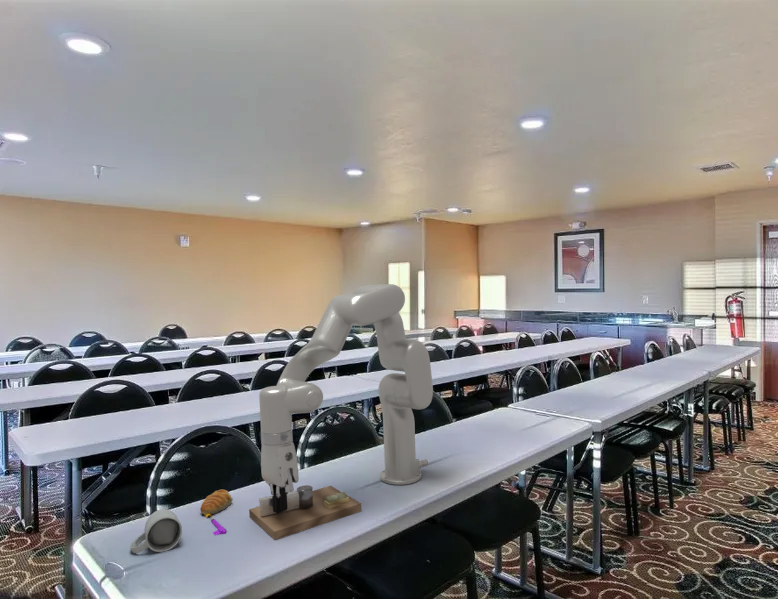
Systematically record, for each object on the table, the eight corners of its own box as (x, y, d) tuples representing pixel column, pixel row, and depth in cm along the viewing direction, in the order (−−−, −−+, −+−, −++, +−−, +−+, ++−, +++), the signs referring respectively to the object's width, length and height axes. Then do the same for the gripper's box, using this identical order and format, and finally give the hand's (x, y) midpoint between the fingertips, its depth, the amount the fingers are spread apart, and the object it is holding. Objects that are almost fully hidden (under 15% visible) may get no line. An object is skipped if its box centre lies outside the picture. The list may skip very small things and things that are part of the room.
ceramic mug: (177, 532, 126) (175, 501, 125) (183, 546, 118) (181, 513, 118) (129, 546, 120) (127, 513, 120) (132, 561, 113) (129, 526, 113)
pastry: (217, 517, 133) (216, 502, 133) (193, 516, 135) (192, 501, 135) (234, 502, 143) (233, 488, 143) (211, 501, 144) (211, 488, 144)
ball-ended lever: (310, 500, 136) (309, 484, 136) (315, 506, 132) (314, 489, 132) (258, 512, 130) (258, 495, 130) (262, 518, 126) (261, 500, 126)
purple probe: (227, 533, 125) (206, 512, 137) (226, 528, 124) (205, 508, 137) (217, 539, 123) (196, 517, 136) (215, 534, 123) (195, 513, 136)
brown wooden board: (330, 492, 147) (330, 475, 147) (361, 510, 134) (360, 492, 134) (249, 517, 133) (248, 498, 133) (274, 540, 120) (273, 519, 120)
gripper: (307, 438, 125) (310, 514, 125) (273, 428, 135) (276, 498, 135) (281, 446, 119) (284, 525, 120) (247, 435, 130) (250, 507, 130)
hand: (280, 510), depth 127 cm, fingers closed
